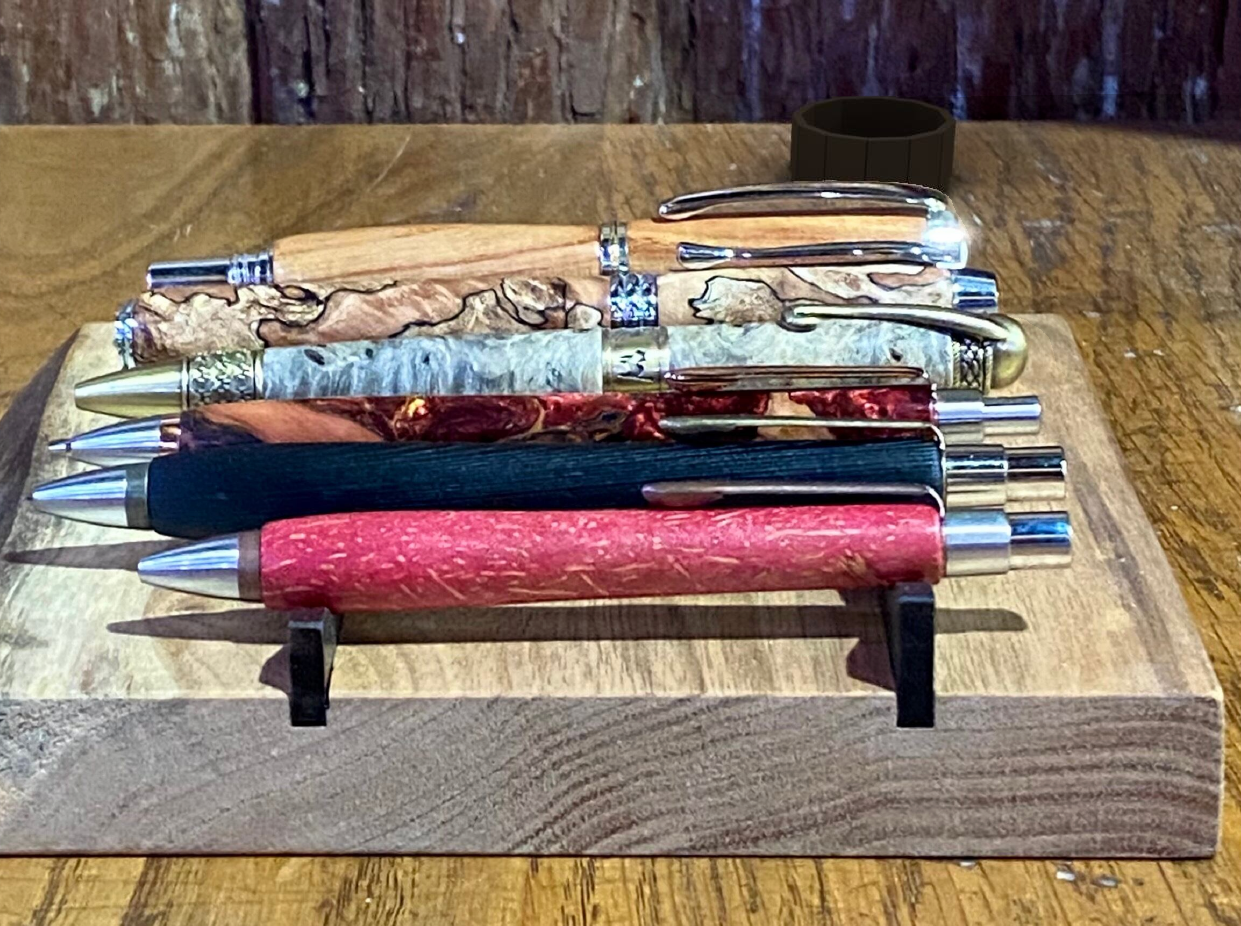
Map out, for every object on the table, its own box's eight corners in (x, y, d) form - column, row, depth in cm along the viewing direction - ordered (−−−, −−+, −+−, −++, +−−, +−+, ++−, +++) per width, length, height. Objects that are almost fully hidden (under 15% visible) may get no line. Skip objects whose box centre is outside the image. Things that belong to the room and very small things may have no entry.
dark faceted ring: (968, 169, 110) (973, 106, 108) (920, 213, 103) (925, 147, 102) (823, 150, 113) (826, 89, 112) (767, 192, 107) (770, 128, 105)
